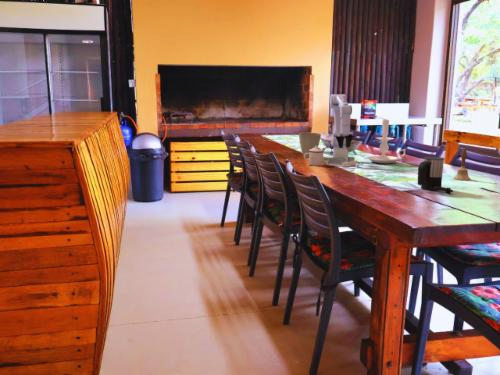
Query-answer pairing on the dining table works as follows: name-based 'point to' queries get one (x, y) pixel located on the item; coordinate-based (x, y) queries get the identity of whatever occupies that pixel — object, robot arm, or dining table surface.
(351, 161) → the dish rack
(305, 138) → the plant pot
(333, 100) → the robot arm
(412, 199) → the dining table surface
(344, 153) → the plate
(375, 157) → the candlestick
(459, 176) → the hand bell
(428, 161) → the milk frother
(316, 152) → the teacup with lid
